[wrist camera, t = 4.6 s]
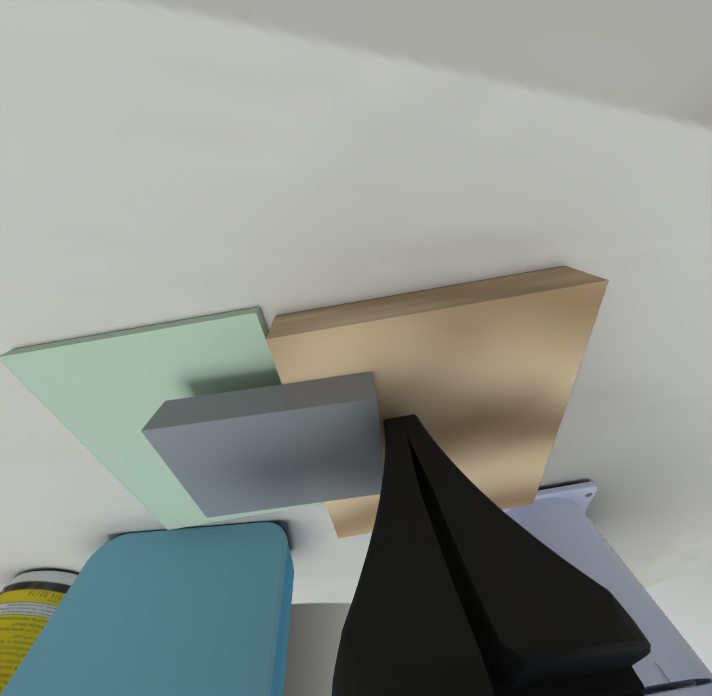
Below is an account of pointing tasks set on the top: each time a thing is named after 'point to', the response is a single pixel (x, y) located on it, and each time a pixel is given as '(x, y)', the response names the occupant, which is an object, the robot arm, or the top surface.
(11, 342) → the top surface
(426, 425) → the oak board
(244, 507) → the slate tile
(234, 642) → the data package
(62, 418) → the green mat
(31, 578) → the supplement bottle
